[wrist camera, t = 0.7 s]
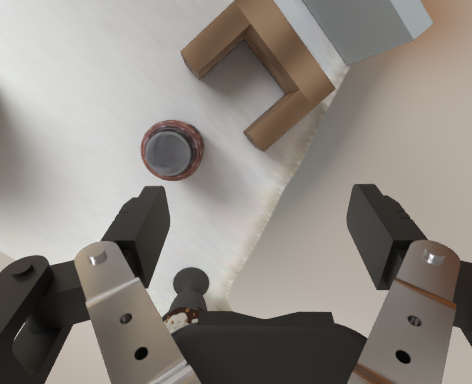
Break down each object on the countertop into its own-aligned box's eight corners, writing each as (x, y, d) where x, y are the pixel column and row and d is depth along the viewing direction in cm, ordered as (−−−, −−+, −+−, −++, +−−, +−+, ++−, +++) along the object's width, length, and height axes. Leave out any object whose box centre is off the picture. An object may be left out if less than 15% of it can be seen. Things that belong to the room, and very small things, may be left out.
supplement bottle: (206, 165, 37) (206, 184, 26) (159, 171, 37) (139, 192, 26) (200, 118, 36) (197, 116, 25) (151, 123, 35) (126, 124, 24)
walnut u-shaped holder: (184, 62, 34) (180, 51, 28) (249, 1, 33) (257, -22, 28) (255, 147, 37) (263, 151, 32) (316, 93, 36) (335, 88, 31)
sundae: (224, 276, 41) (234, 360, 27) (197, 311, 42) (192, 411, 28) (185, 252, 40) (172, 328, 25) (158, 289, 41) (131, 383, 26)
